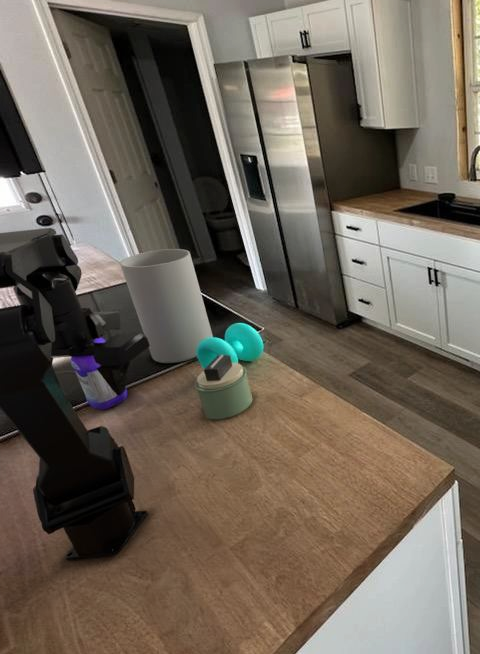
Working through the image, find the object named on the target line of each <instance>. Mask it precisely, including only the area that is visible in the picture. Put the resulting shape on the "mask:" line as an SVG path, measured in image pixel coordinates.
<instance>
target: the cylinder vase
mask: <svg viewBox="0 0 480 654" xmlns="http://www.w3.org/2000/svg"><path fill="white" fill-rule="evenodd" d="M119 266H120V268H121V271H122V274H123V277H124V280H125V284H126V286H127V288H128V291H129V295H130V297H131V300H132V303H133V306H134V309H135V312H136V315H137V318H138V321H139V324H140V327H141V329H142V332H143V334H144V335H146V337H147V339H148V342H149V345H150V346H149V347H148V349H149V353H150V356H151V358H152V360H153V361H155V362H157V363H160V364H176V363H182V362H187V361H189V360H193V359H195V358H197V352H196V351H197V346H198V344H199V343H200V342H201V341H202V340H203V339H205V338H209V337H214V335H213V333H212V332H213V331H212V328H211V324H210V320H209V317H208V313H207V311H206V310H207V309H206V306H205V303H204V299H203V296H202V292H201V288H200V285H199V281H198V277H197V273H196V270H195V266H194V263H193V259H192V255H191V251H189V250H187V249H183V248H167V249H158V250H157V249H156V250H151V251H144V252H141V253H137V254H136V253H135V254H133V255H130V256H127V257H125V258H124V259H122V260H121V261H120V262H119Z"/></svg>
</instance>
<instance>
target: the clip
mask: <svg viewBox="0 0 480 654" xmlns="http://www.w3.org/2000/svg"><path fill="white" fill-rule="evenodd" d="M231 367H232V362H231V358H230V355H221V356H216V358H215V359H214V360H213V361H212V362H211V363H210V364H209V365H208V366H207V367H206V368H205V369H204V368H203V371H204V373H205V376H206V380H207V381H217V380H221V379H222V377H223V376H224V375H225V374H226V373H227V372H228V370H229V369H230V368H231Z"/></svg>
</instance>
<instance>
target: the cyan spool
mask: <svg viewBox="0 0 480 654" xmlns="http://www.w3.org/2000/svg"><path fill="white" fill-rule="evenodd" d="M196 352H197V357H196V358H197V360H198V362H199V364H200V365H201V367H202V369H203V370H204V369H205V368H206V367H207V366H208V365H209V364H210V363H211V362H212V361H213V360H214V359H215V358H216V356H221V355H230V358H231V362H232V363H238V364H239V360H241V361H243V362H253V361H256V360H258V359H259V358H261V356H262V354H263V352H264V342H263V339H262V337H261V335H260V333H259V332H258V330H256V329H255V328H254V327H252V325H249V324H247V323H244V322H236V323H232V324H231V325H229V326H228V327H227V329H226V330H225V333H224V339H222V338H219V337H216V336H213V337H209V338H205V339H203V340H202V341H201V342H200V343H199V344H198V346H197V351H196Z"/></svg>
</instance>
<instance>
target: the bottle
mask: <svg viewBox="0 0 480 654" xmlns="http://www.w3.org/2000/svg"><path fill="white" fill-rule="evenodd" d="M94 341H95V343H104V342H106V341H107V339H104V338H103V337H101V338H96V339H95V340H94ZM70 364H71V367H72V369H73V370H74V372H75V374H76V377H77V379H78V382H79V384H80V386H81V389H82V391H83V394H84V396H85V399H86V402H87V403H88V404H89V405H90V406H91V407H92V408H94V409H97V410H106V409H109V408H111V407H113V406H117V405H118V404H120V403H123V402H124V401H125V400H126V399H127V397H128V389H127V388H126V387H125V391H124V392H123V393H122V394H121V395H117V394H116V393H115V392H114V391H113V390H112V389H111V387H110V386H109V385H108V383H107V382H106V381H105V379H104V378H103V377H102V376H101V374H100V373H99V372H98V370H97V368H98V367H99V366H101V365H99V364H98V363H96V362H95V360H94V357H93V356H73V357H70Z"/></svg>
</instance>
